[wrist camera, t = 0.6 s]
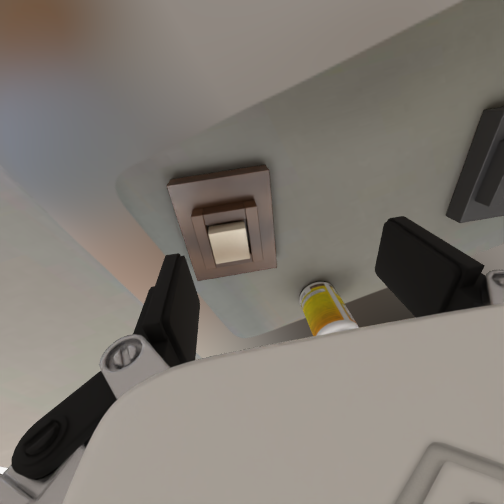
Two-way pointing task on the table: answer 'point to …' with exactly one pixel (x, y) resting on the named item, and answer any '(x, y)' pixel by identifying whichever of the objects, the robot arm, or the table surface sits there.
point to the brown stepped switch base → (226, 217)
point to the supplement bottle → (325, 309)
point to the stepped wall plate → (482, 173)
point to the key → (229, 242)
